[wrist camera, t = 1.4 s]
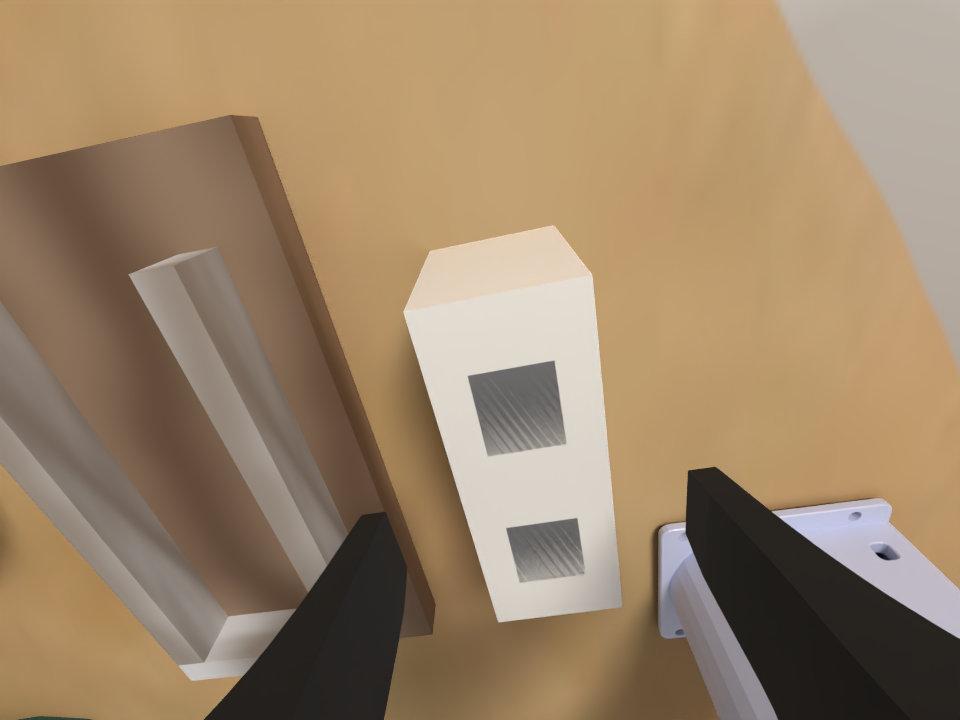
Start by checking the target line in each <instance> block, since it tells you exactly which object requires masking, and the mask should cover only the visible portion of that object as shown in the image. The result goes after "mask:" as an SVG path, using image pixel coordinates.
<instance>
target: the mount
mask: <svg viewBox="0 0 960 720" xmlns="http://www.w3.org/2000/svg"><path fill="white" fill-rule="evenodd" d="M19 720H91V719H80V718H62V717H44V716H39V717H32V718H26V719H19Z"/></svg>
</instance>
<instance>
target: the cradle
mask: <svg viewBox="0 0 960 720" xmlns="http://www.w3.org/2000/svg"><path fill="white" fill-rule="evenodd" d="M0 464H1V465H2V466H3V467H4V468H5V469H6V471H7V472H8V473H9V474H10V475H11V476H12V477H13V479H14V480H15V481H16V482H17V483H18V484H19V485H20V486H21V488H22V489H23V490H24V491H25V492H26V493H27V494H28V496H29V497H30V498H31V499H32V500H33V501H34V502H35V504H36V505H37V506H38V507H39V508H40V509H41V510H42V511H43V513H44V514H45V515H46V516H47V517H48V518H49V519H50V521H51V522H52V523H53V524H54V525H55V526H56V527H57V528H58V530H59V531H60V532H61V533H62V534H63V535H64V536H65V538H66V539H67V540H68V541H69V542H70V543H71V544H72V546H73V547H74V548H75V549H76V550H77V551H78V552H79V553H80V555H81V556H82V557H83V558H84V559H85V560H86V561H87V563H88V564H89V565H90V566H91V567H92V568H93V569H94V570H95V572H96V573H97V574H98V575H99V576H100V577H101V578H102V580H103V581H104V582H105V583H106V584H107V585H108V586H109V588H110V589H111V590H112V591H113V592H114V593H115V594H116V595H117V597H118V598H119V599H120V600H121V601H122V602H123V603H124V605H125V606H126V607H127V608H128V609H129V610H130V611H131V612H132V614H133V615H134V616H135V617H136V618H137V619H138V620H139V622H140V623H141V624H142V625H143V626H144V627H145V628H146V630H147V631H148V632H149V633H150V634H151V635H152V636H153V637H154V639H155V640H156V641H157V642H158V643H159V644H160V645H161V647H162V648H163V649H164V650H165V651H166V652H167V653H168V654H169V656H170V657H171V658H172V659H173V660H174V661H175V662H176V664H177V665H178V666H179V667H180V668H181V669H182V670H183V672H184V673H185V674H186V675H187V676H188V677H189V678H190V679H191V681H194V680H204V679H214V678H223V677H233V676H243V675H244V674H245V673H246V672H247V671H248V670H249V669H250V667H251V666H252V665H253V664H254V663H255V661H256V660H257V659H258V658H259V656H260V655H261V654H262V653H263V652H264V650H265V649H266V648H267V647H268V645H269V644H270V643H271V642H272V640H273V639H274V638H275V636H276V635H277V634H278V632H279V631H280V630H281V629H282V627H283V626H284V625H285V623H286V622H287V621H288V619H289V618H290V617H291V615H292V614H293V613H294V611H295V610H296V609H297V608H298V606H299V605H300V603H301V602H302V601H303V599H304V598H305V596H306V595H307V594H308V592H309V591H310V589H311V588H312V587H313V585H314V584H315V582H316V581H317V579H318V578H319V577H320V575H321V574H322V572H323V571H324V569H325V568H326V567H327V565H328V564H329V562H330V561H331V559H332V558H333V556H334V555H335V553H336V552H337V550H338V549H339V547H340V546H341V544H342V543H343V541H344V540H345V538H346V537H347V535H348V534H349V532H350V531H351V529H352V528H353V526H354V525H355V523H356V522H357V521H358V519H359V518H360V516H361V515H365V514H372V513H379V512H386V514H387V517H388V519H389V522H390V524H391V527H392V529H393V532H394V534H395V537H396V540H397V542H398V545H399V547H400V550H401V552H402V555H403V557H404V560H405V563H406V565H407V579H406V594H405V606H404V614H403V620H402V626H401V631H400V636H399V638H403V637H413V636H422V635H431V634H433V624H434V613H435V602H434V599H433V596H432V594H431V591H430V588H429V585H428V583H427V580H426V577H425V575H424V572H423V569H422V566H421V564H420V561H419V558H418V555H417V553H416V550H415V547H414V544H413V542H412V539H411V536H410V534H409V531H408V528H407V525H406V523H405V520H404V517H403V514H402V512H401V509H400V506H399V503H398V501H397V498H396V495H395V493H394V490H393V487H392V484H391V482H390V479H389V476H388V473H387V471H386V468H385V465H384V462H383V460H382V457H381V454H380V451H379V449H378V446H377V443H376V441H375V438H374V435H373V432H372V430H371V427H370V424H369V421H368V419H367V416H366V413H365V410H364V408H363V405H362V402H361V400H360V397H359V394H358V391H357V389H356V386H355V383H354V380H353V378H352V375H351V372H350V369H349V367H348V364H347V361H346V359H345V356H344V353H343V350H342V348H341V345H340V342H339V339H338V337H337V334H336V331H335V328H334V326H333V323H332V320H331V318H330V315H329V312H328V309H327V307H326V304H325V301H324V298H323V296H322V293H321V290H320V287H319V285H318V282H317V279H316V276H315V274H314V271H313V268H312V266H311V263H310V260H309V257H308V255H307V252H306V249H305V246H304V244H303V241H302V238H301V235H300V233H299V230H298V227H297V225H296V222H295V219H294V216H293V214H292V211H291V208H290V205H289V203H288V200H287V197H286V194H285V192H284V189H283V186H282V184H281V181H280V178H279V175H278V173H277V170H276V167H275V164H274V162H273V159H272V156H271V153H270V151H269V148H268V145H267V143H266V140H265V137H264V134H263V132H262V129H261V126H260V123H259V121H258V118H257V117H250V116H235V115H228V116H224V117H219V118H215V119H210V120H206V121H201V122H197V123H192V124H188V125H184V126H179V127H175V128H170V129H166V130H161V131H157V132H152V133H148V134H143V135H139V136H134V137H130V138H125V139H121V140H116V141H112V142H107V143H103V144H98V145H94V146H89V147H85V148H80V149H76V150H71V151H67V152H62V153H58V154H53V155H49V156H44V157H40V158H35V159H31V160H26V161H22V162H17V163H13V164H8V165H4V166H0Z"/></svg>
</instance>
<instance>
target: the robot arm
mask: <svg viewBox="0 0 960 720" xmlns="http://www.w3.org/2000/svg"><path fill="white" fill-rule="evenodd" d="M891 512H892V507H891V506H890V505H889V504H888V503H887V502H886V501H885V500H883V499H879V498H875V499H866V500H858V501H850V502H842V503H834V504H826V505H818V506H810V507H802V508H794V509H786V510H778V511H770V510H769V509H768V508H766V507H765V506H764V505H763V504H761V503H760V502H759V501H758V500H756V499H755V498H754V497H753V496H751V495H750V494H749V493H748V492H746V491H745V490H744V489H743V488H741V487H740V486H739V485H738V484H737V483H735V482H734V481H733V480H732V479H730V478H729V477H728V476H727V475H725V474H724V473H723V472H722V471H720V470H719V469H718V468H716V467H711V468H704V469H696V470H689V471H688V484H687V506H686V522H681V523H673V524H667V525H665V526H663V527H662V528H661V529H660V530H659V533H658V629H659V632H660V634H661V636H662V637H664V638H667V639H671V638H681V637H686V638H687V640H688V643H689V645H690V648H691V650H692V653H693V655H694V658H695V660H696V663H697V665H698V668H699V670H700V673H701V675H702V678H703V680H704V683H705V685H706V688H707V690H708V693H709V695H710V697H711V700H712V702H713V705H714V707H715V710H716V712H717V715H718V717H719V720H960V590H959V589H958V588H957V587H956V586H955V585H954V584H953V583H952V582H951V581H950V580H949V579H948V578H947V577H946V576H945V575H944V574H943V573H942V572H941V571H939V570H938V569H937V568H936V567H935V566H934V565H933V564H932V563H931V562H930V561H929V560H928V559H927V558H926V557H925V556H924V555H923V554H922V553H921V552H920V551H919V550H918V549H917V548H915V547H914V546H913V545H912V544H911V543H910V542H909V541H908V540H907V539H906V538H905V537H904V536H903V535H902V534H901V533H900V532H899V531H898V530H897V529H896V528H895V527H894V526H893V525H892V524H890V523H889V522H888V521H889V518H890V515H891ZM406 579H407V565H406V563H405V560H404V557H403V555H402V552H401V550H400V547H399V545H398V542H397V540H396V537H395V534H394V532H393V529H392V527H391V524H390V522H389V519H388V517H387V514H386V512H379V513H372V514H365V515H361V516H360V518H359V519H358V521H357V522H356V523H355V525H354V526H353V528H352V529H351V531H350V532H349V534H348V535H347V537H346V538H345V540H344V541H343V543H342V544H341V546H340V547H339V549H338V550H337V552H336V553H335V555H334V556H333V558H332V559H331V561H330V562H329V564H328V565H327V567H326V568H325V569H324V571H323V572H322V574H321V575H320V577H319V578H318V579H317V581H316V582H315V584H314V585H313V587H312V588H311V589H310V591H309V592H308V594H307V595H306V596H305V598H304V599H303V601H302V602H301V603H300V605H299V606H298V608H297V609H296V610H295V611H294V613H293V614H292V615H291V617H290V618H289V619H288V621H287V622H286V623H285V625H284V626H283V627H282V629H281V630H280V631H279V632H278V634H277V635H276V636H275V638H274V639H273V640H272V642H271V643H270V644H269V645H268V647H267V648H266V649H265V650H264V652H263V653H262V654H261V655H260V656H259V658H258V659H257V660H256V661H255V663H254V664H253V665H252V666H251V667H250V669H249V670H248V671H247V672H246V673H245V674H244V676H243V677H242V678H241V679H240V680H239V681H238V683H237V684H236V685H235V686H234V687H233V688H232V689H231V691H230V692H229V693H228V694H227V695H226V696H225V697H224V698H223V700H222V701H221V702H220V703H219V704H218V705H217V706H216V707H215V708H214V709H213V710H212V711H211V713H210V714H209V715H208V716H207V717H206V718H205V719H204V720H384V716H385V711H386V705H387V700H388V695H389V689H390V684H391V679H392V674H393V668H394V663H395V658H396V653H397V647H398V642H399V636H400V631H401V626H402V620H403V614H404V606H405V594H406Z"/></svg>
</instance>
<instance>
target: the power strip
mask: <svg viewBox="0 0 960 720" xmlns="http://www.w3.org/2000/svg"><path fill="white" fill-rule="evenodd" d="M404 316H405V319H406V322H407V326H408V329H409V332H410V335H411V339H412V342H413V345H414V348H415V352H416V355H417V358H418V361H419V365H420V368H421V371H422V375H423V378H424V381H425V384H426V388H427V391H428V394H429V397H430V401H431V404H432V407H433V411H434V414H435V417H436V420H437V424H438V427H439V430H440V433H441V437H442V440H443V443H444V446H445V450H446V453H447V456H448V460H449V463H450V466H451V469H452V473H453V476H454V479H455V482H456V486H457V489H458V492H459V496H460V499H461V502H462V505H463V509H464V512H465V515H466V518H467V522H468V525H469V528H470V531H471V535H472V538H473V541H474V545H475V548H476V551H477V554H478V558H479V561H480V564H481V567H482V571H483V574H484V577H485V580H486V584H487V587H488V590H489V594H490V597H491V600H492V603H493V607H494V610H495V613H496V616H497V620H498V622H506V621H514V620H522V619H530V618H539V617H547V616H555V615H563V614H571V613H579V612H588V611H596V610H604V609H612V608H620V607H622V596H621V585H620V574H619V563H618V552H617V541H616V530H615V519H614V508H613V497H612V486H611V475H610V464H609V453H608V442H607V431H606V420H605V409H604V398H603V387H602V376H601V365H600V354H599V343H598V332H597V322H596V311H595V300H594V289H593V278H592V274H591V273H590V271H589V270H588V269H587V267H586V266H585V265H584V264H583V262H582V261H581V260H580V258H579V257H578V256H577V254H576V253H575V252H574V251H573V249H572V248H571V247H570V245H569V244H568V243H567V241H566V240H565V239H564V238H563V236H562V235H561V234H560V232H559V231H558V230H557V228H556V227H555V226H554V225H553V226H548V227H543V228H538V229H533V230H529V231H524V232H519V233H514V234H509V235H505V236H500V237H495V238H490V239H485V240H481V241H476V242H471V243H466V244H461V245H457V246H452V247H447V248H442V249H437V250H433V251H430V252H429V254H428V256H427V259H426V261H425V263H424V266H423V268H422V270H421V272H420V275H419V277H418V279H417V282H416V284H415V286H414V289H413V291H412V293H411V295H410V298H409V300H408V302H407V305H406V307H405V309H404Z"/></svg>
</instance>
